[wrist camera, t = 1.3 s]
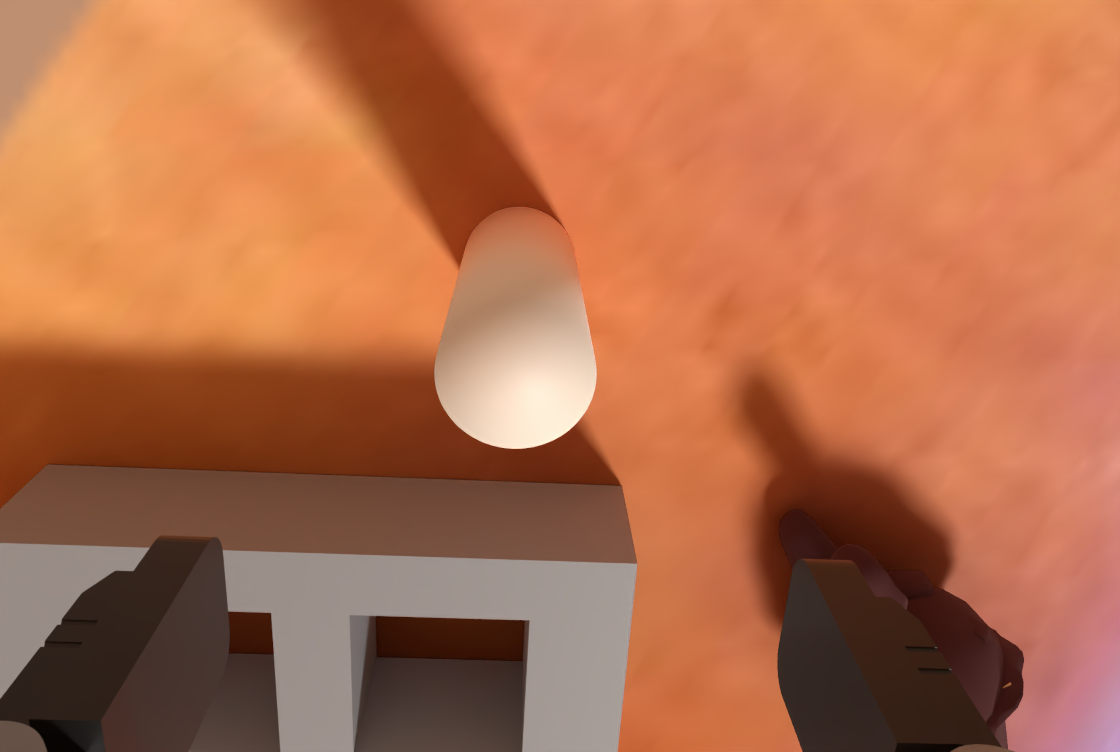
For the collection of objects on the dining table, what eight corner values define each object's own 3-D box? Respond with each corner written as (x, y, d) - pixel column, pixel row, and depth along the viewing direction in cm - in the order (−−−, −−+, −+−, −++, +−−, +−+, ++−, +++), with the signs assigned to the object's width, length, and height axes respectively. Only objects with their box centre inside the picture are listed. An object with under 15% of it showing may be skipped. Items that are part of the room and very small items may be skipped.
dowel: (578, 209, 29) (602, 301, 20) (571, 317, 30) (590, 451, 21) (464, 203, 29) (434, 293, 20) (462, 312, 30) (433, 445, 21)
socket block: (621, 485, 33) (637, 564, 28) (600, 708, 36) (611, 809, 32) (47, 464, 32) (-35, 541, 27) (85, 695, 35) (18, 799, 31)
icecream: (1162, 830, 31) (966, 492, 28) (993, 967, 31) (770, 640, 27) (1023, 723, 38) (850, 440, 34) (882, 833, 37) (692, 558, 34)
